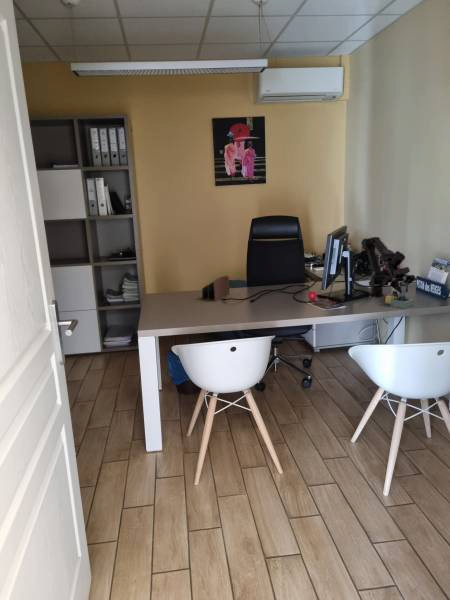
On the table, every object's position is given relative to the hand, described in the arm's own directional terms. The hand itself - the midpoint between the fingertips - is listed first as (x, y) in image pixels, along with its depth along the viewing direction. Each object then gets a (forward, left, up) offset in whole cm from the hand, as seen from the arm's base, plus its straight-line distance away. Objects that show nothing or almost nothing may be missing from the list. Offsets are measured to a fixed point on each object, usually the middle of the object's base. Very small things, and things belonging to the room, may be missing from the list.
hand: (404, 292), depth 268 cm
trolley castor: (-10, +8, -8) cm, 15 cm away
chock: (-9, +2, -9) cm, 13 cm away
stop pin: (-1, +1, -7) cm, 7 cm away
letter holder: (-97, -64, -9) cm, 117 cm away
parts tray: (-1, +1, -8) cm, 8 cm away
